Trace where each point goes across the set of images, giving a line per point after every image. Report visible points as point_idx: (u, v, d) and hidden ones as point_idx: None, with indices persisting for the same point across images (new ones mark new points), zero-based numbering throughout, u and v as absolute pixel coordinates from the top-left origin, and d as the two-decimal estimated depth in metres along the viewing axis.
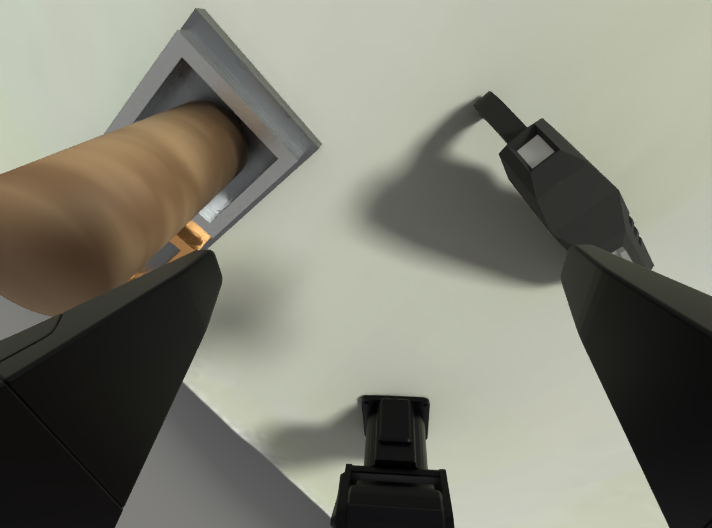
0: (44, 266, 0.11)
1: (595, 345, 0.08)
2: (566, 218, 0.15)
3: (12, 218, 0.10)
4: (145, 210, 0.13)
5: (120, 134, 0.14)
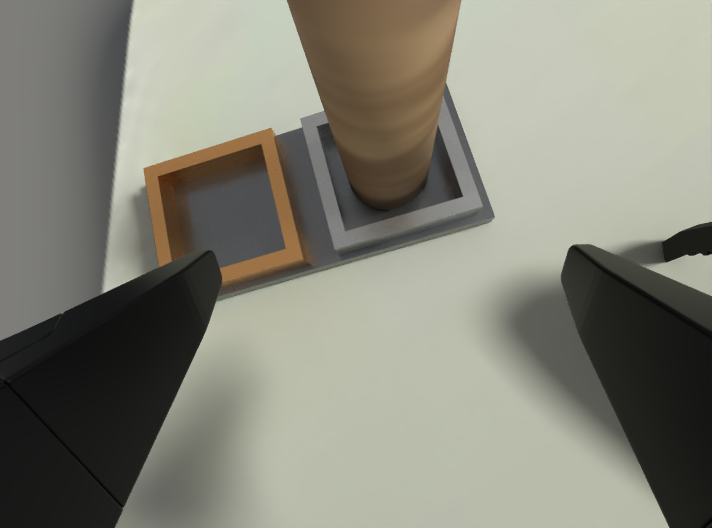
0: None
1: (595, 345, 0.08)
2: None
3: None
4: None
5: None
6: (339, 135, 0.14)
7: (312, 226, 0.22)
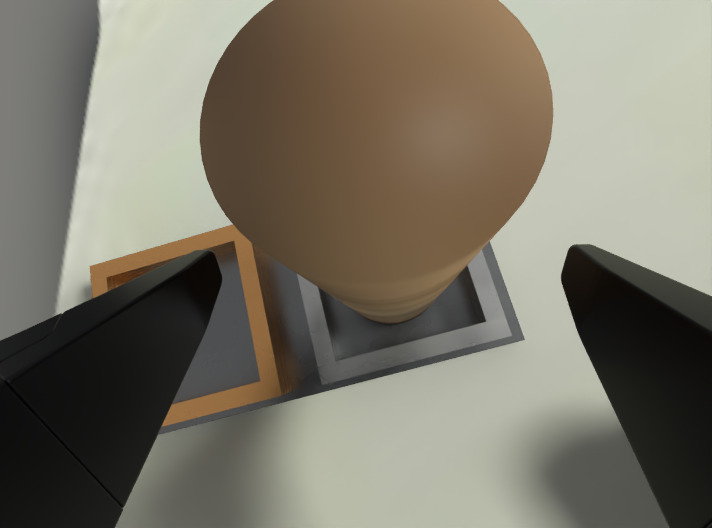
0: (383, 131, 0.05)
1: (595, 345, 0.08)
2: None
3: (427, 29, 0.05)
4: None
5: None
6: None
7: (296, 342, 0.17)
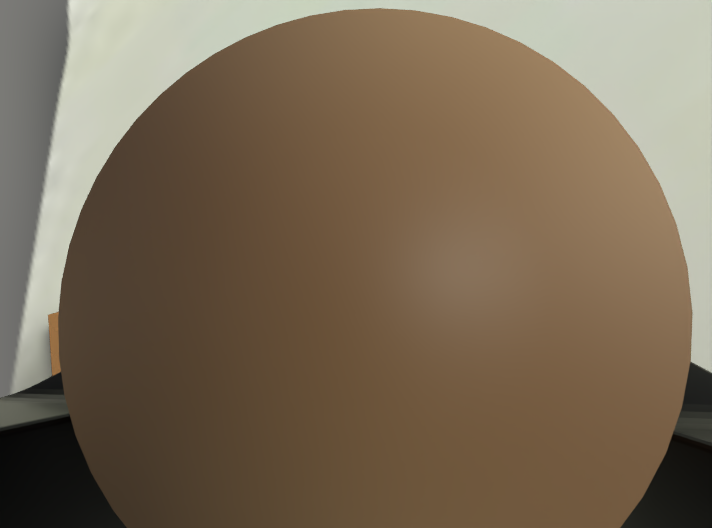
0: (372, 324, 0.03)
1: None
2: None
3: (450, 129, 0.03)
4: None
5: None
6: None
7: None
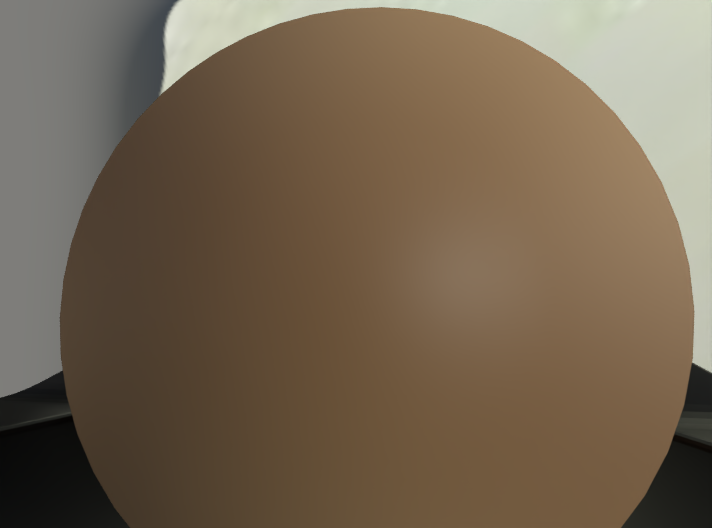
0: (373, 324, 0.03)
1: None
2: None
3: (453, 128, 0.03)
4: None
5: None
6: None
7: None
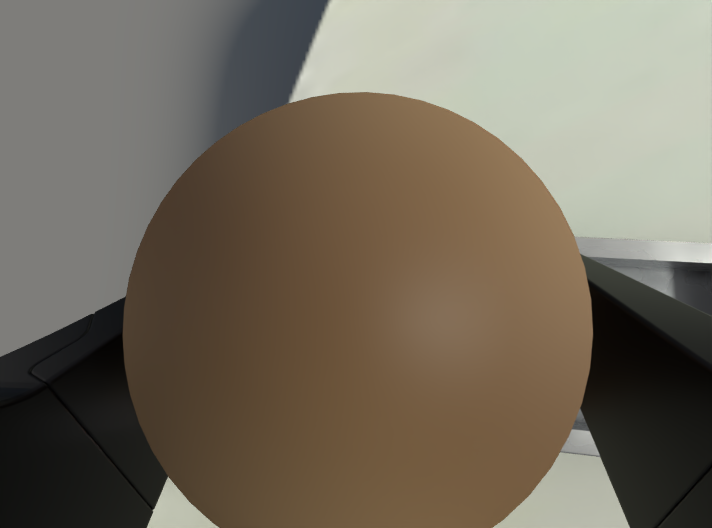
0: (359, 342, 0.04)
1: None
2: None
3: (419, 190, 0.04)
4: None
5: None
6: None
7: None
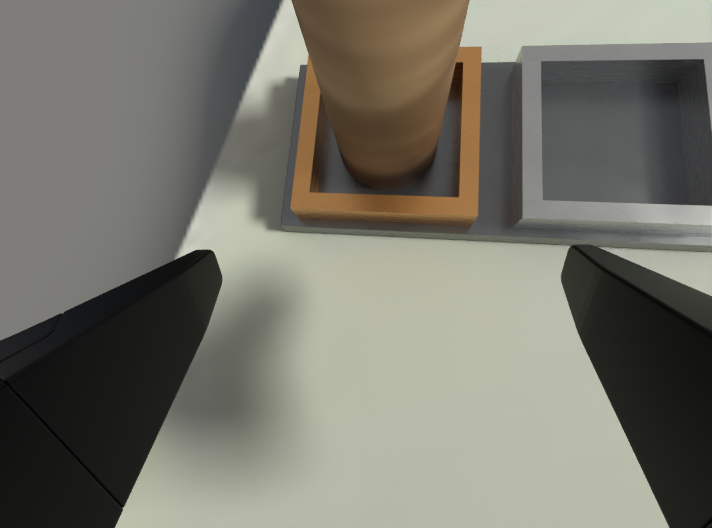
0: None
1: (595, 345, 0.08)
2: None
3: None
4: None
5: None
6: (324, 75, 0.11)
7: (487, 183, 0.17)
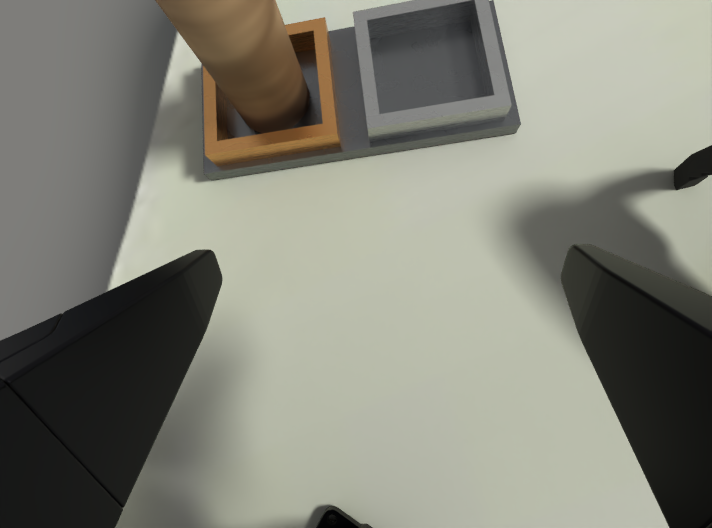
0: None
1: (595, 345, 0.08)
2: None
3: None
4: None
5: None
6: (189, 42, 0.17)
7: (348, 114, 0.23)
